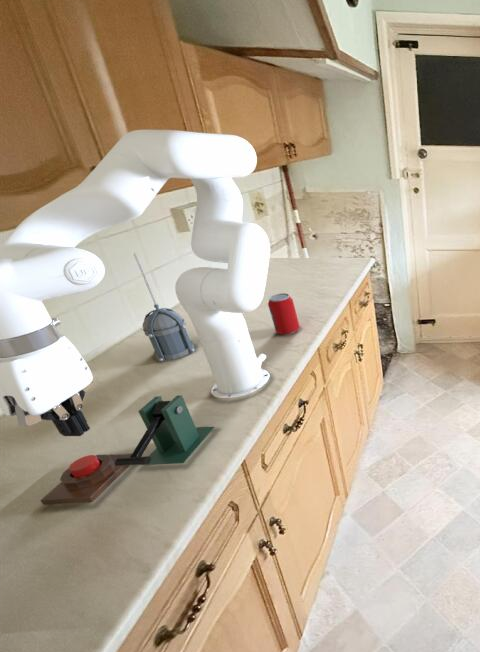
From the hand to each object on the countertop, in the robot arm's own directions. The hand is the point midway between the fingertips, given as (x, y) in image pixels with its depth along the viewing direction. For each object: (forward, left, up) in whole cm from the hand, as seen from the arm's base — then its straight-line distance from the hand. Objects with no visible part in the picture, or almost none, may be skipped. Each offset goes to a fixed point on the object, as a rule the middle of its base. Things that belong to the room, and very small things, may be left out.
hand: (76, 432), depth 68 cm
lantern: (-47, -19, -13) cm, 53 cm away
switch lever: (-5, +8, -5) cm, 10 cm away
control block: (0, -2, -13) cm, 13 cm away
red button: (0, -2, -9) cm, 9 cm away
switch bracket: (-8, +8, -13) cm, 17 cm away
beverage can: (-58, +8, -13) cm, 60 cm away
